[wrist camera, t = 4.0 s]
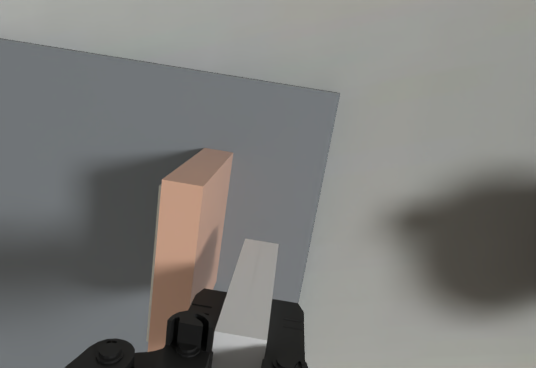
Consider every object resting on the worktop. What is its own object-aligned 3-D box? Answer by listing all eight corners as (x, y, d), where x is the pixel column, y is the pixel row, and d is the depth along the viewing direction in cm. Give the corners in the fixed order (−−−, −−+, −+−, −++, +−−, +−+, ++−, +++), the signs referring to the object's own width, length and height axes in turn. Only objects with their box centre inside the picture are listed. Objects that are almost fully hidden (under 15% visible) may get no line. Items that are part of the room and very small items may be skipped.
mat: (-15, 36, 22) (-32, 33, 21) (337, 92, 21) (340, 93, 20) (2, 446, 30) (-10, 460, 29) (257, 496, 29) (256, 513, 28)
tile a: (200, 147, 21) (156, 178, 15) (233, 152, 21) (203, 186, 15) (186, 276, 24) (142, 355, 17) (216, 281, 24) (183, 362, 17)
